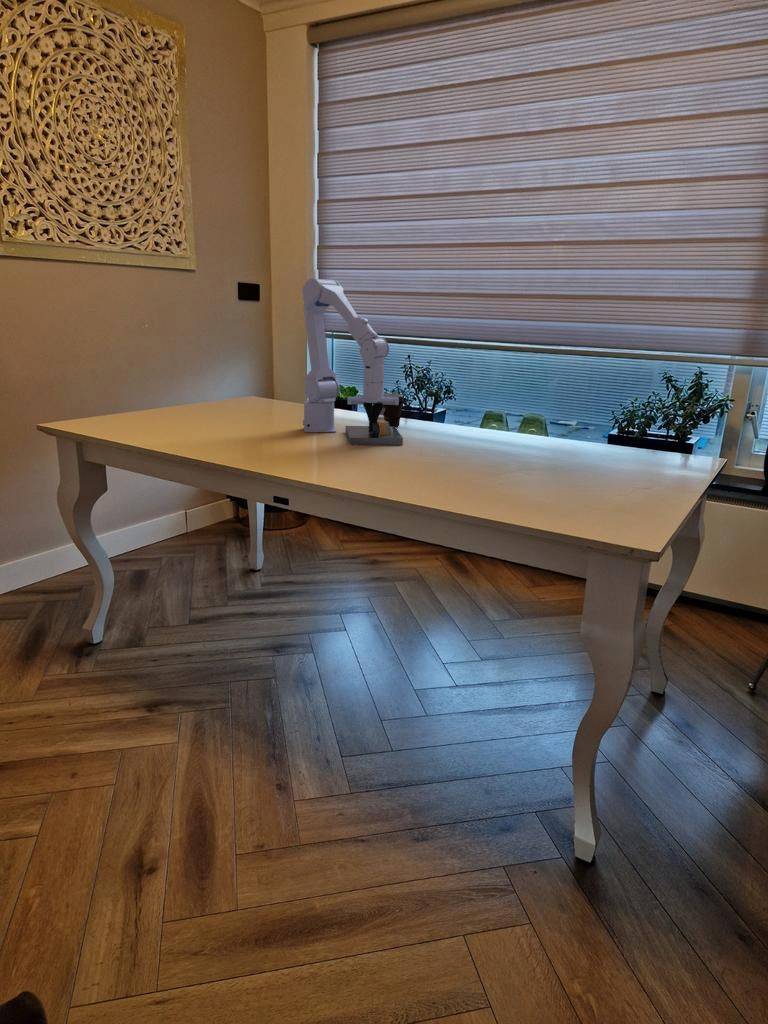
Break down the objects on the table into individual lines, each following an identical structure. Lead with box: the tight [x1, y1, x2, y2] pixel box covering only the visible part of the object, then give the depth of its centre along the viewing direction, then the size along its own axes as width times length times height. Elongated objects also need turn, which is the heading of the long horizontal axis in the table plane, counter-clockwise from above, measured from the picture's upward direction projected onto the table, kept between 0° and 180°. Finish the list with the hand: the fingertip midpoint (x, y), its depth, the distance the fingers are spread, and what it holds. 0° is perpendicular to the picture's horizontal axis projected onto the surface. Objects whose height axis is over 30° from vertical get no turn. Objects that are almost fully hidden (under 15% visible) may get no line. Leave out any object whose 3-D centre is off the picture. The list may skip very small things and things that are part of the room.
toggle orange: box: [377, 420, 386, 435], centre depth 191 cm, size 2×4×4 cm, turn 7°
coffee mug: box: [380, 392, 409, 428], centre depth 211 cm, size 12×9×10 cm
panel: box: [345, 421, 404, 446], centre depth 194 cm, size 15×18×6 cm
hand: (372, 429), depth 191 cm, fingers closed
